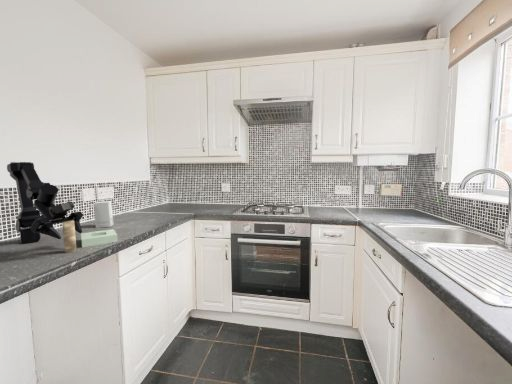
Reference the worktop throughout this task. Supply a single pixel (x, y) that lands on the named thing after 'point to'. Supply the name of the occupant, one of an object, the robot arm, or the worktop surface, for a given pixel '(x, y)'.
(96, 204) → the skincare box
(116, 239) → the hole block
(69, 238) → the beech peg
